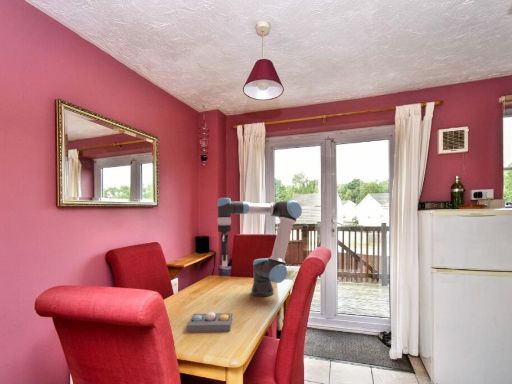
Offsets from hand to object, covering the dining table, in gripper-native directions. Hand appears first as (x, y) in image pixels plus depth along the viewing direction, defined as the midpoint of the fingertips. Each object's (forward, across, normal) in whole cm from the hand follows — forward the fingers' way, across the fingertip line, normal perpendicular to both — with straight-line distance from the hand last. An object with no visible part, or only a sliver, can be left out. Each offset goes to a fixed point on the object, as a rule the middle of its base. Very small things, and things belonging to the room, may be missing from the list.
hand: (224, 266), depth 152 cm
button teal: (+23, +19, -11) cm, 32 cm away
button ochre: (+23, +19, +1) cm, 30 cm away
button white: (+22, +19, -5) cm, 29 cm away
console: (+24, +19, -5) cm, 31 cm away
